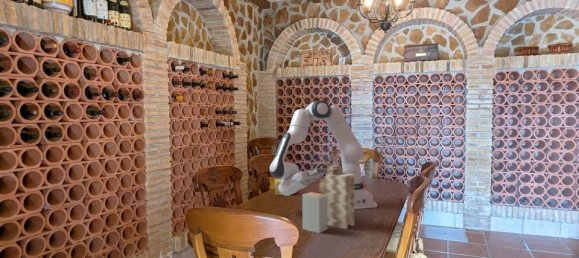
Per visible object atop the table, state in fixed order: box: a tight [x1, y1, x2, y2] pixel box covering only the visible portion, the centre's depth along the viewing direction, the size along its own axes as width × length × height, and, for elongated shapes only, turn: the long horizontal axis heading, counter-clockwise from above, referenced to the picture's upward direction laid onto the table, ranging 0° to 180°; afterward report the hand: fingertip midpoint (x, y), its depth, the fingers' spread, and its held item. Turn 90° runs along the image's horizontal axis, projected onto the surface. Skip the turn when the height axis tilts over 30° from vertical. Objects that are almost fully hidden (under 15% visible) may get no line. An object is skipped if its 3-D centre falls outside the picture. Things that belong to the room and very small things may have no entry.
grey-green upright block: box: [301, 191, 328, 234], centre depth 176 cm, size 10×7×17 cm
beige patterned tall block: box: [325, 164, 355, 230], centre depth 182 cm, size 12×8×30 cm, turn 51°
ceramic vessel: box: [315, 161, 338, 195], centre depth 233 cm, size 18×19×25 cm
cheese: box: [274, 178, 283, 195], centre depth 251 cm, size 10×11×10 cm
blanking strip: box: [311, 167, 338, 174], centre depth 187 cm, size 14×3×2 cm, turn 51°
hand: (319, 169), depth 189 cm, fingers closed on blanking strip, 3 cm apart
